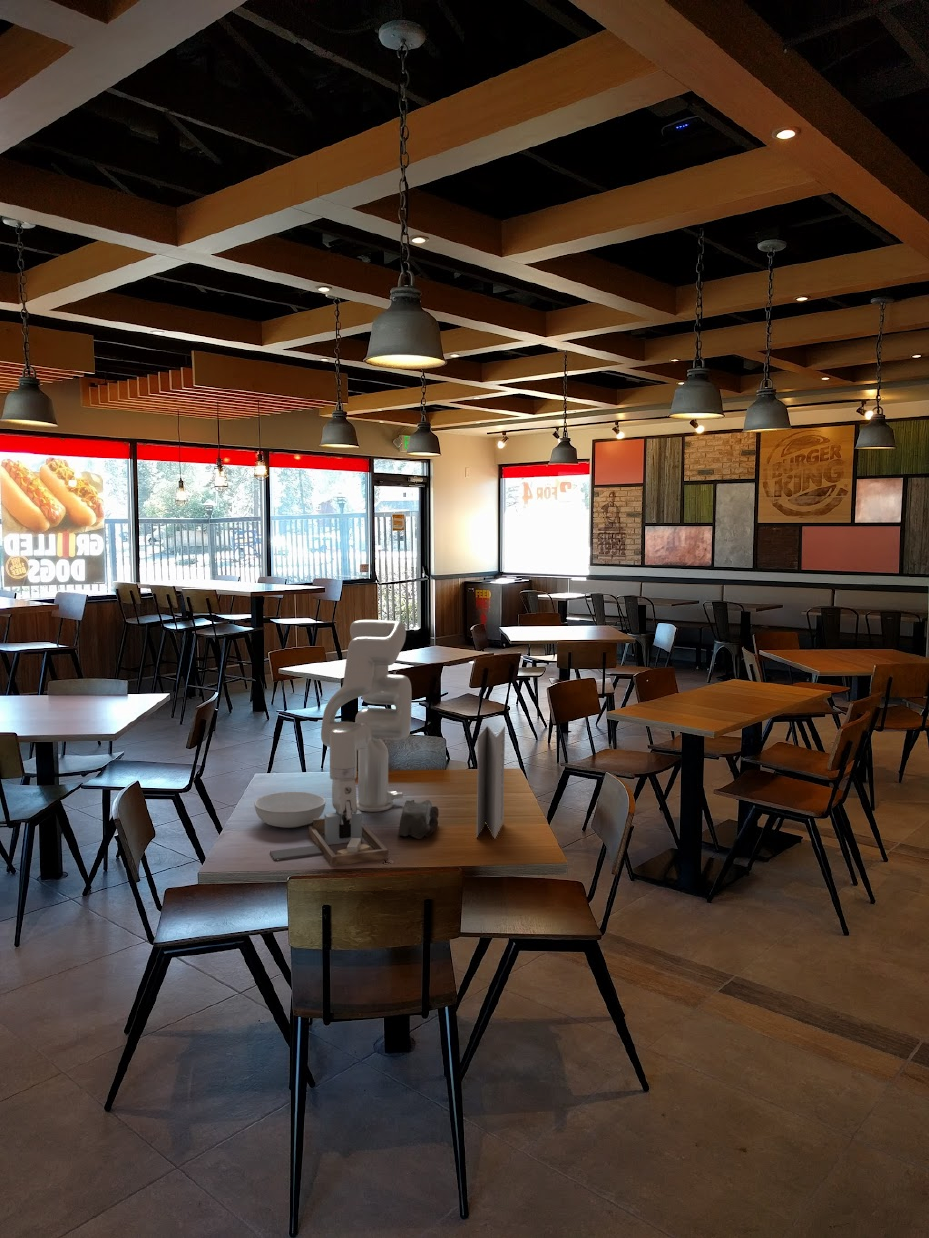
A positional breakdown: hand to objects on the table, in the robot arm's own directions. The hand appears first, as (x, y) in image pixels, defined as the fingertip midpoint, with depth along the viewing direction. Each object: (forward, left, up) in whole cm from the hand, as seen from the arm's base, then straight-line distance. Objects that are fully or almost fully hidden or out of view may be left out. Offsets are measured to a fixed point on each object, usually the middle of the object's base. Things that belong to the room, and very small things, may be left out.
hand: (343, 834), depth 257 cm
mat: (+15, +5, -2) cm, 16 cm away
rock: (-23, 0, -2) cm, 23 cm away
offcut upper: (0, +11, 0) cm, 11 cm away
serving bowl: (+11, -21, -2) cm, 23 cm away
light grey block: (0, 0, -2) cm, 2 cm away
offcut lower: (0, +11, -2) cm, 12 cm away
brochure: (-42, +7, -2) cm, 43 cm away
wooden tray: (0, +4, -2) cm, 4 cm away
